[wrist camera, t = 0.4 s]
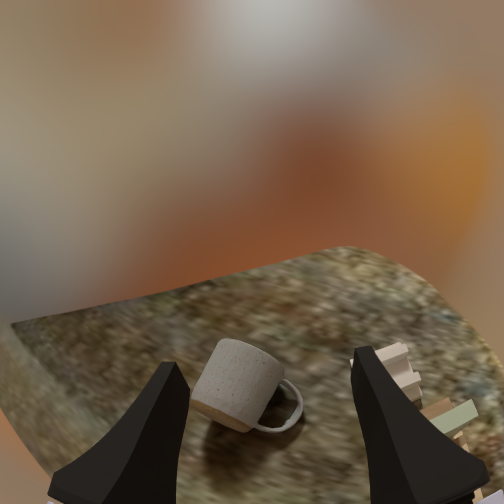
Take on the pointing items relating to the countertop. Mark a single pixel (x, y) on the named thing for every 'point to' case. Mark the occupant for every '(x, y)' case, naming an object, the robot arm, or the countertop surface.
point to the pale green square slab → (455, 419)
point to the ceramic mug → (241, 387)
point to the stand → (400, 369)
